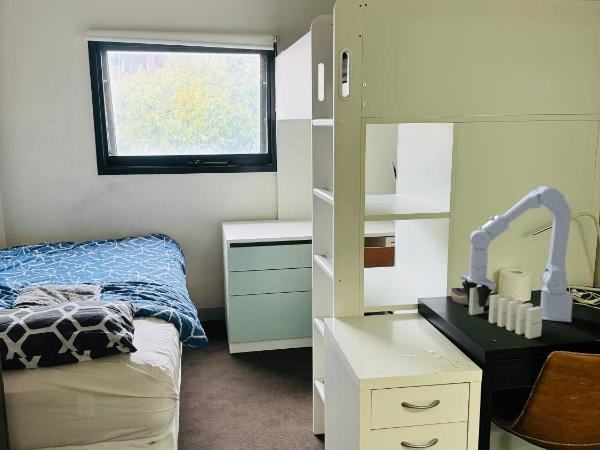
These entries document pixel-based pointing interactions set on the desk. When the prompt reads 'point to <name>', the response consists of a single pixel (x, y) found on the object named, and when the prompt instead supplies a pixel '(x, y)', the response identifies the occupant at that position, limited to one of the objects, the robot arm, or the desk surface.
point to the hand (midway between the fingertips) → (476, 304)
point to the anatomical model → (462, 296)
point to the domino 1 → (474, 302)
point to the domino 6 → (533, 322)
